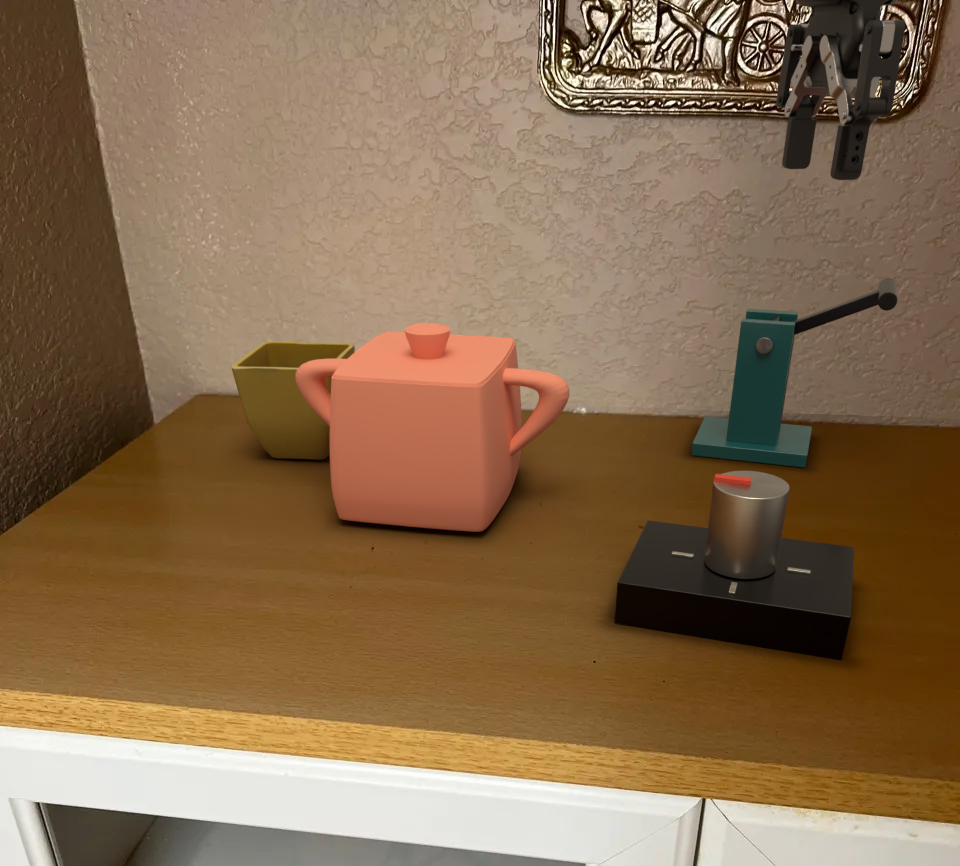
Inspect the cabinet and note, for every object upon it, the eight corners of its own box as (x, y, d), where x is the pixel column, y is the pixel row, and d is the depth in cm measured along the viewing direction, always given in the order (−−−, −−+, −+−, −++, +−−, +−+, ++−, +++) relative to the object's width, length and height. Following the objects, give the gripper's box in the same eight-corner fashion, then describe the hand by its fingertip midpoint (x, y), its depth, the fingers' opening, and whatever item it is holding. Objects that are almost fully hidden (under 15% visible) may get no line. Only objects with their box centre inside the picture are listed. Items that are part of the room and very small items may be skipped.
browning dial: (779, 553, 65) (793, 470, 62) (773, 584, 61) (787, 497, 58) (709, 543, 66) (719, 462, 63) (698, 573, 62) (709, 488, 59)
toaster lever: (899, 297, 83) (892, 269, 83) (901, 312, 79) (893, 283, 78) (759, 347, 89) (751, 322, 88) (752, 364, 84) (743, 338, 83)
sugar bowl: (549, 548, 73) (556, 360, 66) (273, 522, 77) (250, 343, 70) (584, 455, 89) (593, 297, 82) (355, 438, 94) (344, 286, 86)
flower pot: (242, 466, 88) (228, 365, 83) (275, 433, 95) (263, 339, 90) (337, 471, 86) (328, 369, 82) (363, 437, 94) (356, 342, 89)
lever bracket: (810, 438, 93) (832, 310, 87) (805, 468, 86) (828, 331, 80) (703, 427, 95) (717, 302, 89) (691, 455, 89) (705, 322, 83)
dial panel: (846, 586, 67) (854, 544, 66) (841, 659, 59) (851, 614, 58) (644, 557, 71) (647, 517, 70) (614, 623, 63) (617, 579, 62)
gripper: (963, -83, 66) (908, 183, 74) (856, -62, 78) (820, 164, 86) (859, -85, 65) (816, 185, 73) (767, -64, 77) (739, 166, 85)
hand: (818, 173), depth 80 cm, fingers open, 8 cm apart
